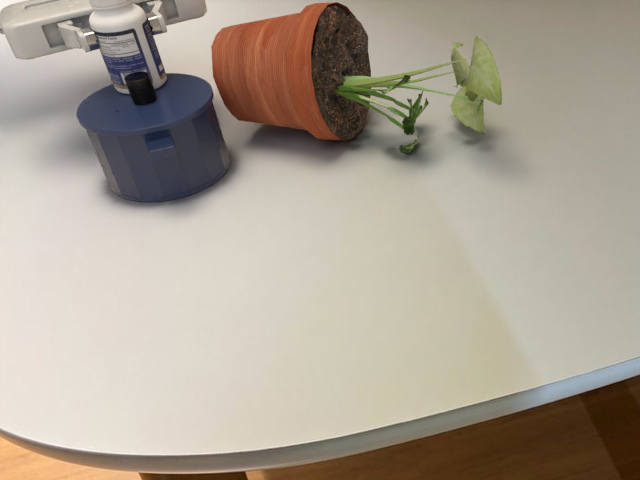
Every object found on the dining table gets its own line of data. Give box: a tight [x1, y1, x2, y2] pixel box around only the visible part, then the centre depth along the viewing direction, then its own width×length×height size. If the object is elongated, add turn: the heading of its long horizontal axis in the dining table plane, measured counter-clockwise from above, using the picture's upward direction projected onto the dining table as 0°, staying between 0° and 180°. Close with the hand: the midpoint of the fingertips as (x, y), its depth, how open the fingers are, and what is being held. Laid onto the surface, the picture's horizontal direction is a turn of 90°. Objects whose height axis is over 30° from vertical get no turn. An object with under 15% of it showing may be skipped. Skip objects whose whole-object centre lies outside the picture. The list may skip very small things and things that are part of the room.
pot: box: [85, 100, 230, 203], centre depth 85 cm, size 13×18×8 cm
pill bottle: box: [88, 0, 167, 94], centre depth 81 cm, size 5×5×10 cm
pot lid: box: [75, 72, 214, 136], centre depth 81 cm, size 13×13×4 cm
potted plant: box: [210, 1, 503, 154], centre depth 86 cm, size 16×15×35 cm
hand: (125, 34), depth 80 cm, fingers closed on pill bottle, 5 cm apart
